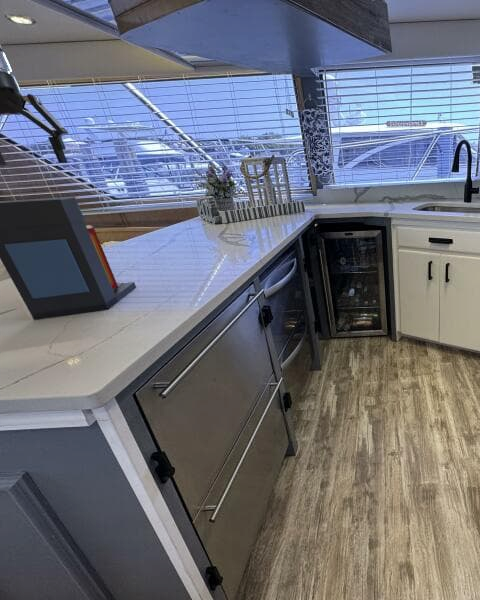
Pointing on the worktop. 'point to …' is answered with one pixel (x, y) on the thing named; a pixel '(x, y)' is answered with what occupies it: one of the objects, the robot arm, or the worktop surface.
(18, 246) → the slanted screen kiosk
